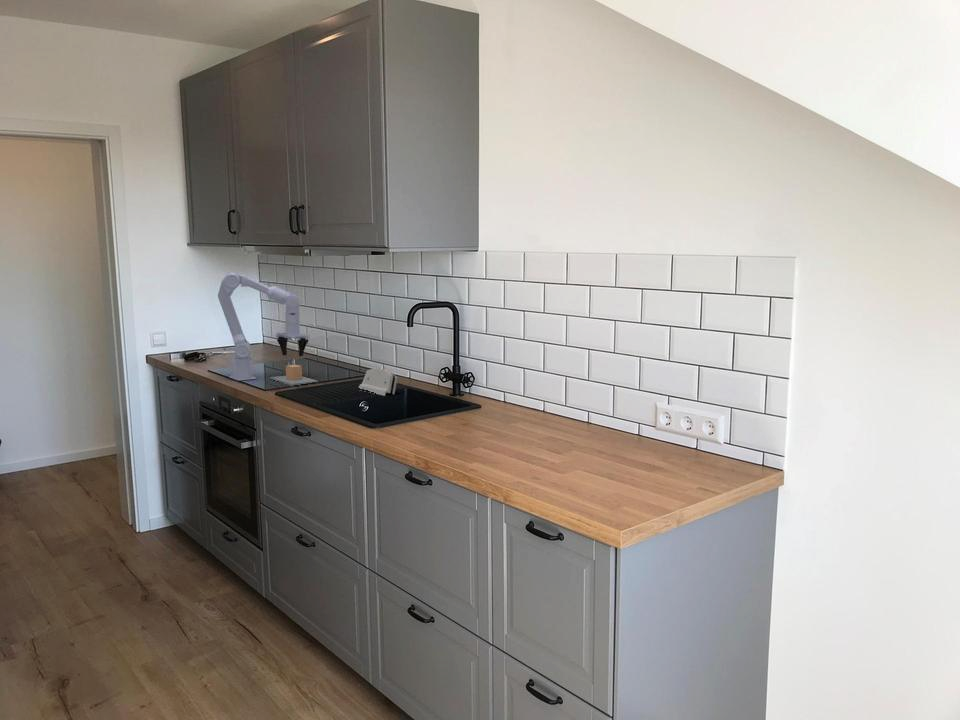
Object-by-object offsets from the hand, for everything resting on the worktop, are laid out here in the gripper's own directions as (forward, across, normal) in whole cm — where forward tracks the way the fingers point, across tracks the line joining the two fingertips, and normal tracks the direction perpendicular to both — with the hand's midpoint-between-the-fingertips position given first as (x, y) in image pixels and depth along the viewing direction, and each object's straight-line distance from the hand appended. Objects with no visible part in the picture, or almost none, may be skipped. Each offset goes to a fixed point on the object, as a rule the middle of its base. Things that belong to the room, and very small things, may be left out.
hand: (292, 355), depth 333 cm
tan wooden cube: (+8, +4, -8) cm, 12 cm away
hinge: (+10, +44, -14) cm, 48 cm away
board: (+9, +4, -8) cm, 13 cm away
